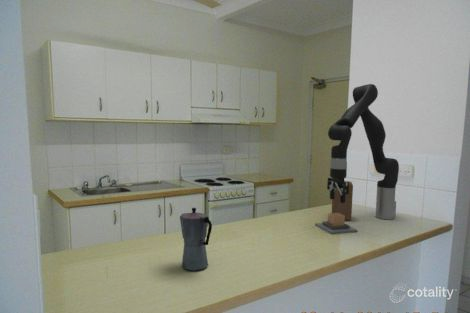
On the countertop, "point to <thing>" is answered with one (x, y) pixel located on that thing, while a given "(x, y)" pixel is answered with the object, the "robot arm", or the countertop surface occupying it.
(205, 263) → the moka pot
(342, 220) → the brick
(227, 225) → the countertop surface
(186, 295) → the countertop surface
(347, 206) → the wooden block
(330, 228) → the socket board
